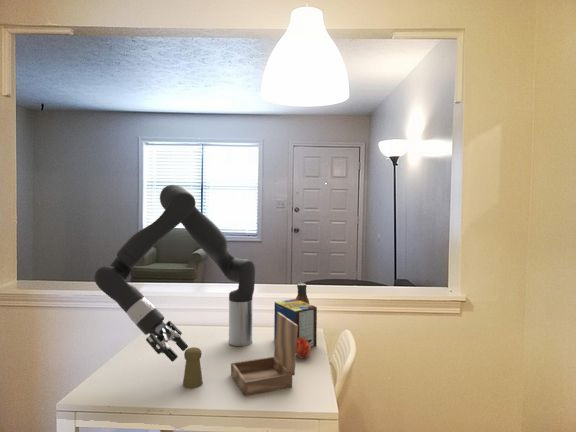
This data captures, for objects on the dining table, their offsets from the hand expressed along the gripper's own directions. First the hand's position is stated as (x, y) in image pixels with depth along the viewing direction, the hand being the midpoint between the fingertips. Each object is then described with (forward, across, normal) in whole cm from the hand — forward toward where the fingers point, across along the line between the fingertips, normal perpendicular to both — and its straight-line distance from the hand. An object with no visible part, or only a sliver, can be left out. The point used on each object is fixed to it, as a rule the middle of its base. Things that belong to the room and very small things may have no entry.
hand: (180, 354), depth 127 cm
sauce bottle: (+30, +57, -17) cm, 67 cm away
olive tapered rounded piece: (+9, 0, +4) cm, 10 cm away
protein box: (+29, +40, -16) cm, 52 cm away
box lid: (+20, +9, -23) cm, 32 cm away
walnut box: (+24, +5, -11) cm, 26 cm away
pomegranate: (+31, +26, -18) cm, 45 cm away
